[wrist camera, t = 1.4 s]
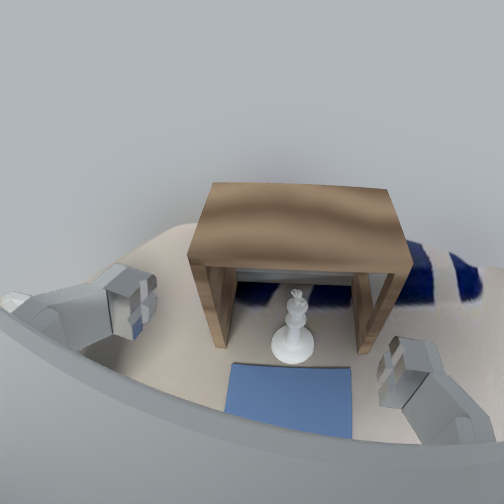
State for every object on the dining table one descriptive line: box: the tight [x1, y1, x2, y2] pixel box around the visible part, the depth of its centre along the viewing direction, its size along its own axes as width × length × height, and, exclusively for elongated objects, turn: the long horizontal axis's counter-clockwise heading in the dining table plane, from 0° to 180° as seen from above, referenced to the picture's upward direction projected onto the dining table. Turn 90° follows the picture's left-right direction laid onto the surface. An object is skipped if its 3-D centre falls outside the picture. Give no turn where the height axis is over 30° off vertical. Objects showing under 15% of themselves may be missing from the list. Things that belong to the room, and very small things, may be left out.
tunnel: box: [187, 183, 413, 354], centre depth 34 cm, size 19×17×15 cm
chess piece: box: [271, 289, 314, 364], centre depth 30 cm, size 5×5×10 cm
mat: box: [224, 364, 352, 439], centre depth 28 cm, size 9×13×1 cm
